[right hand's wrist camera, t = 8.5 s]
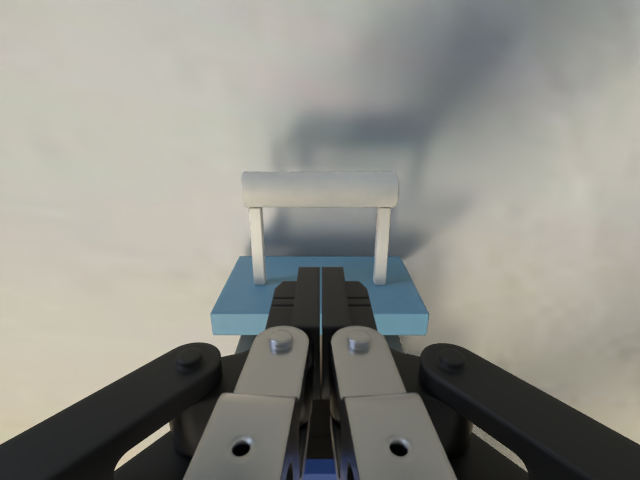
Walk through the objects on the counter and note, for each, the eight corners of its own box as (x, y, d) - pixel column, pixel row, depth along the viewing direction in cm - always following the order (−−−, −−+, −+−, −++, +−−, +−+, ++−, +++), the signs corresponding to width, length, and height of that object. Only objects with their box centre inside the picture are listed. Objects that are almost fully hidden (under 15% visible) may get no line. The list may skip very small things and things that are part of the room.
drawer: (231, 160, 21) (194, 185, 15) (408, 160, 21) (445, 186, 15) (254, 431, 28) (236, 524, 22) (384, 431, 28) (402, 524, 22)
